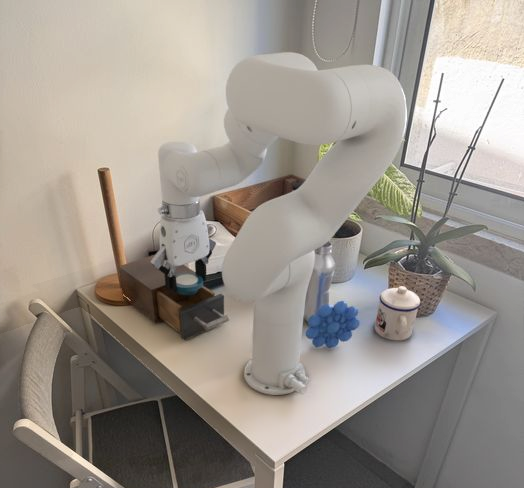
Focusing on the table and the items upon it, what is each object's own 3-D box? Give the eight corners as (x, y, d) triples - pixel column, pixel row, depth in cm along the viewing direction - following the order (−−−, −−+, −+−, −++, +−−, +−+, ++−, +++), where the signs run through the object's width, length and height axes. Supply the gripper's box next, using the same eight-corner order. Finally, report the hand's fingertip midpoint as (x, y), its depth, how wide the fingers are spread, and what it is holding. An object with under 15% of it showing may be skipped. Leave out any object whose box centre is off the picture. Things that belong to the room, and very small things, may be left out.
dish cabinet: (198, 305, 127) (197, 273, 121) (155, 323, 120) (151, 289, 114) (165, 283, 135) (162, 251, 130) (123, 298, 128) (118, 266, 123)
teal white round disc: (209, 291, 115) (209, 280, 113) (183, 301, 111) (182, 290, 109) (190, 279, 119) (190, 269, 118) (164, 289, 115) (164, 278, 114)
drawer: (238, 331, 117) (238, 304, 112) (198, 351, 110) (196, 322, 106) (190, 299, 127) (188, 273, 123) (150, 314, 121) (147, 287, 117)
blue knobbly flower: (351, 336, 118) (359, 291, 111) (357, 353, 113) (365, 307, 106) (301, 336, 118) (306, 291, 110) (305, 354, 112) (310, 307, 105)
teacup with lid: (370, 319, 124) (379, 277, 117) (408, 321, 124) (418, 278, 117) (378, 348, 115) (387, 304, 108) (418, 350, 115) (430, 306, 108)
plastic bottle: (328, 313, 126) (338, 238, 114) (328, 329, 120) (338, 251, 108) (302, 311, 126) (309, 236, 114) (301, 326, 121) (308, 249, 109)
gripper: (155, 223, 97) (163, 304, 107) (226, 203, 106) (227, 278, 117) (134, 212, 101) (144, 290, 112) (204, 193, 111) (207, 267, 121)
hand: (186, 283), depth 114 cm, fingers closed on teal white round disc, 7 cm apart
